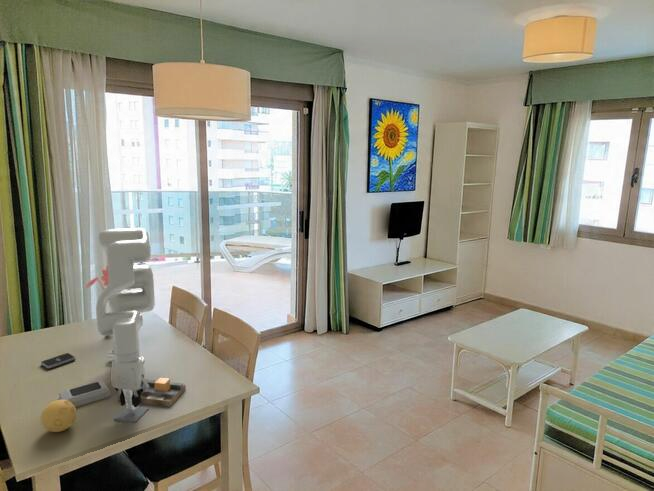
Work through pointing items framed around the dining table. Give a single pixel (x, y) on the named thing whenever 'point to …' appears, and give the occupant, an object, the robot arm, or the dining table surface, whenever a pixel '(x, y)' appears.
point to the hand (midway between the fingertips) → (130, 403)
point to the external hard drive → (58, 361)
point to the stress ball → (58, 415)
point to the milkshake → (129, 399)
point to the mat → (131, 414)
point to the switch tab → (162, 384)
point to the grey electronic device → (86, 393)
